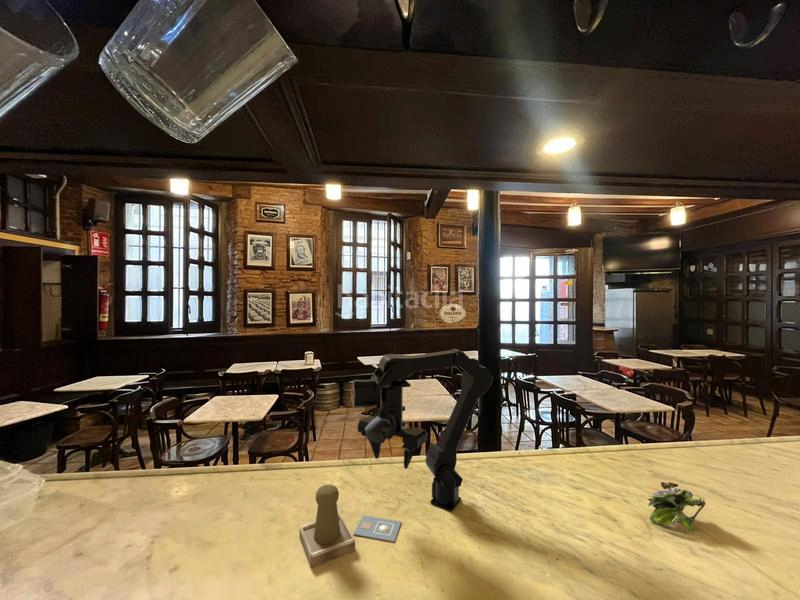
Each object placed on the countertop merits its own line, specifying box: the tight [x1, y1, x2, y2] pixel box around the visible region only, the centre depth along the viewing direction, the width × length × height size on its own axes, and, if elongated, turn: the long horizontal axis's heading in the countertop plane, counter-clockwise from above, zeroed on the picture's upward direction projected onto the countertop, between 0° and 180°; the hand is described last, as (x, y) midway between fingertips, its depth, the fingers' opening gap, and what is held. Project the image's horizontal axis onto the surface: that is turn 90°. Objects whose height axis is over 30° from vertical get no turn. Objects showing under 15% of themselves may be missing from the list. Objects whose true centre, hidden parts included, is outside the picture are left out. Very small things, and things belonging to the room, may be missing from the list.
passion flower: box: [646, 481, 706, 533], centre depth 87 cm, size 11×11×12 cm
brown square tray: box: [299, 513, 356, 568], centre depth 80 cm, size 10×10×3 cm
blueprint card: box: [352, 515, 402, 543], centre depth 85 cm, size 10×7×1 cm
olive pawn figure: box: [314, 484, 341, 545], centre depth 79 cm, size 6×6×11 cm
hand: (391, 463), depth 91 cm, fingers open, 9 cm apart
